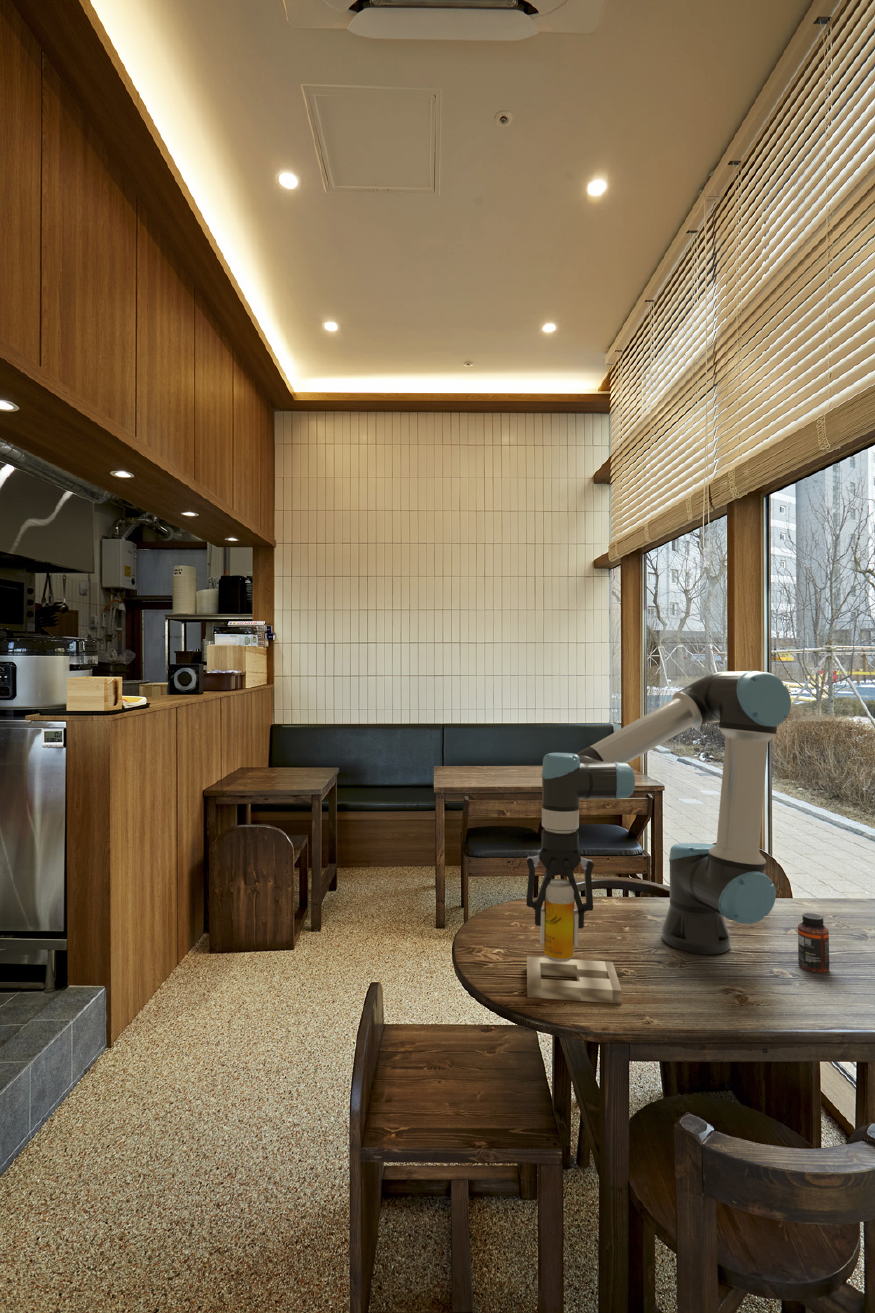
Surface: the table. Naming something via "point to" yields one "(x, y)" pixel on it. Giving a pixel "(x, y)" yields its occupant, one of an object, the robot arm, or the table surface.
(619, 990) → the keyhole plate
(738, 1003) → the table surface
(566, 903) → the beer can
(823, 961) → the supplement bottle
